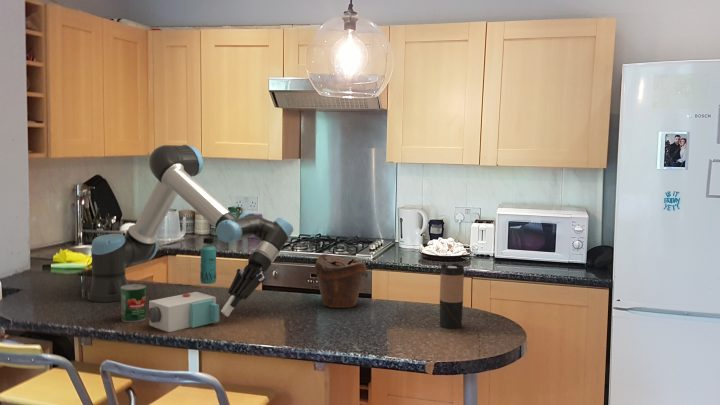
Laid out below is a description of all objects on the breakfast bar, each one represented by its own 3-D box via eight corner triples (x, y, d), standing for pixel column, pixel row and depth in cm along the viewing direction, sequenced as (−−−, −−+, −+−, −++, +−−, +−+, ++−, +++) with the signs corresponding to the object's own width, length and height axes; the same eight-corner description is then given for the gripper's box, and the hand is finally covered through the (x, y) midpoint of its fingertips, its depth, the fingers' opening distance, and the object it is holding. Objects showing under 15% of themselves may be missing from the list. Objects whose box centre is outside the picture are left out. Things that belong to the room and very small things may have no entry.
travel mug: (456, 330, 208) (458, 269, 206) (435, 326, 212) (436, 266, 210) (465, 324, 215) (467, 265, 213) (444, 320, 219) (446, 262, 217)
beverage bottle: (197, 286, 263) (196, 238, 261) (206, 283, 269) (206, 236, 268) (210, 288, 261) (210, 239, 259) (219, 285, 267) (219, 237, 265)
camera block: (145, 326, 207) (144, 300, 206) (196, 314, 222) (196, 290, 221) (164, 333, 199) (164, 306, 199) (216, 320, 214) (216, 295, 213)
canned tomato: (135, 323, 210) (134, 290, 209) (116, 320, 213) (115, 287, 212) (151, 317, 217) (150, 285, 216) (132, 314, 220) (131, 283, 219)
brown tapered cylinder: (369, 309, 231) (369, 260, 230) (313, 310, 230) (313, 260, 228) (365, 298, 249) (366, 252, 247) (313, 299, 247) (313, 252, 246)
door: (190, 326, 206) (190, 303, 205) (210, 321, 212) (210, 299, 211) (198, 329, 203) (198, 306, 203) (219, 324, 209) (219, 301, 209)
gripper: (281, 266, 220) (243, 324, 209) (256, 261, 229) (218, 316, 218) (269, 253, 216) (230, 311, 205) (244, 248, 224) (205, 304, 213)
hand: (224, 313), depth 211 cm, fingers closed
